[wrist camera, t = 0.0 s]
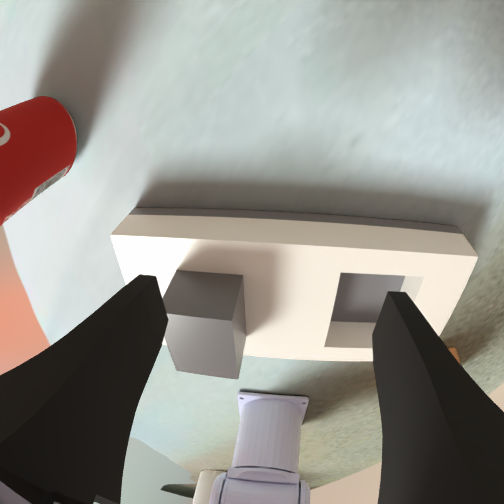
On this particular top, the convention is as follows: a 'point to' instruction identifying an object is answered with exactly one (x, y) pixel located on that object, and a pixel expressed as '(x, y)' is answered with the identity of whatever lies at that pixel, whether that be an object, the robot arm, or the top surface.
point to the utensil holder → (205, 486)
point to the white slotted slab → (286, 280)
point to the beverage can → (33, 151)
